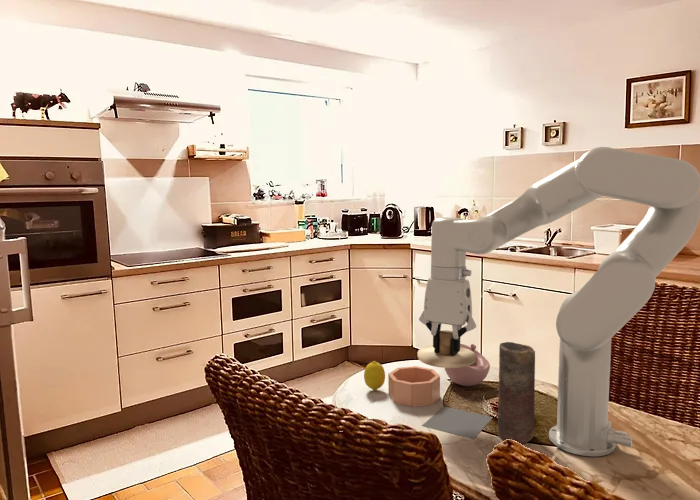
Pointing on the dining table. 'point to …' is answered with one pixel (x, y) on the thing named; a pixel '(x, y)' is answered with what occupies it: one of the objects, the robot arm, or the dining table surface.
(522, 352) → the stone cylinder
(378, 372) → the lemon
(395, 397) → the bowl
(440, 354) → the lid
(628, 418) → the dining table surface
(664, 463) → the dining table surface
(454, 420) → the mat
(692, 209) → the robot arm
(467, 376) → the mortar and pestle
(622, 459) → the dining table surface
